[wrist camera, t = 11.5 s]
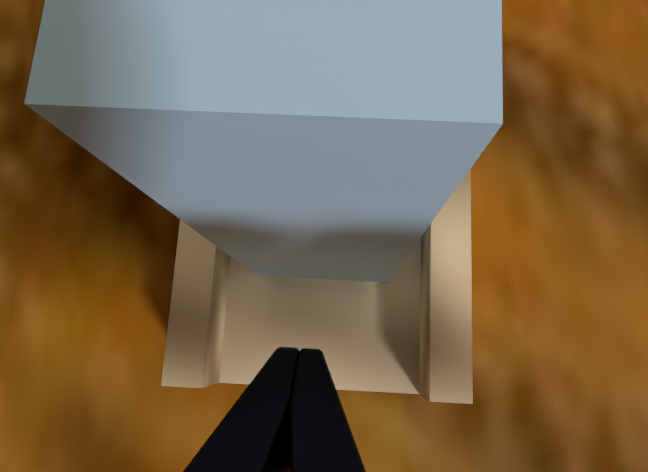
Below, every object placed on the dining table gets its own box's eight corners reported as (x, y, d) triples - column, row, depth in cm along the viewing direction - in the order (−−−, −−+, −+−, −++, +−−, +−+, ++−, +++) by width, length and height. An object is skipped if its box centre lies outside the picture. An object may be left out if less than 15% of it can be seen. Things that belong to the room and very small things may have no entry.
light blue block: (387, 282, 17) (502, 122, 4) (255, 274, 17) (24, 103, 5) (393, 143, 18) (499, -295, 6) (268, 137, 18) (105, -294, 6)
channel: (449, 392, 17) (506, 420, 11) (193, 377, 18) (113, 397, 11) (449, 13, 20) (493, -129, 14) (231, 9, 21) (183, -131, 14)
